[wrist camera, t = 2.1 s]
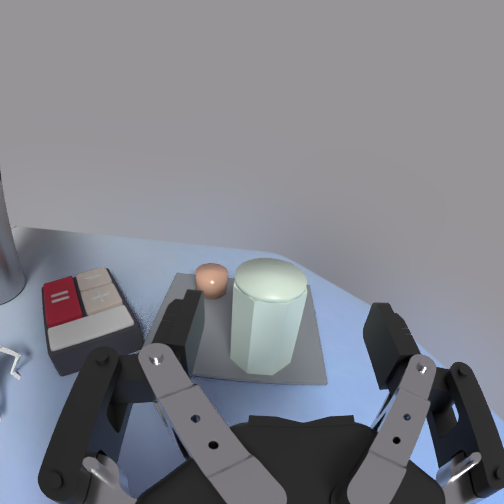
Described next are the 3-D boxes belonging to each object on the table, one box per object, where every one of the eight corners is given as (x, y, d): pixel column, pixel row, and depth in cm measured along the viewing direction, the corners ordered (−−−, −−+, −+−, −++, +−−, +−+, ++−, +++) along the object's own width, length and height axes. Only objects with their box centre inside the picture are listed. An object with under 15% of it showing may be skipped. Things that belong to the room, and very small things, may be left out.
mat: (136, 365, 27) (135, 363, 27) (176, 275, 43) (176, 272, 43) (326, 385, 27) (327, 382, 27) (309, 287, 43) (309, 285, 43)
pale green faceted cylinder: (228, 371, 27) (231, 294, 23) (234, 329, 33) (238, 255, 28) (291, 376, 27) (311, 300, 23) (288, 334, 33) (303, 261, 28)
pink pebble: (193, 300, 37) (193, 279, 36) (198, 282, 41) (198, 261, 39) (225, 303, 37) (226, 282, 36) (227, 285, 41) (229, 264, 39)
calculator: (107, 262, 38) (139, 320, 28) (112, 287, 40) (146, 349, 30) (39, 281, 32) (45, 350, 21) (48, 306, 34) (60, 378, 23)
